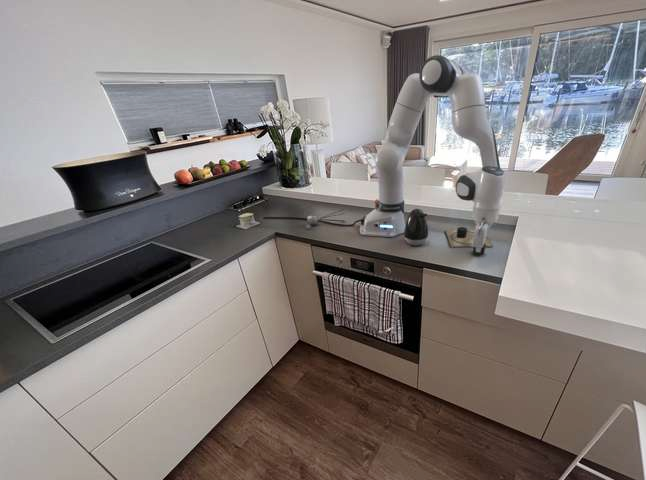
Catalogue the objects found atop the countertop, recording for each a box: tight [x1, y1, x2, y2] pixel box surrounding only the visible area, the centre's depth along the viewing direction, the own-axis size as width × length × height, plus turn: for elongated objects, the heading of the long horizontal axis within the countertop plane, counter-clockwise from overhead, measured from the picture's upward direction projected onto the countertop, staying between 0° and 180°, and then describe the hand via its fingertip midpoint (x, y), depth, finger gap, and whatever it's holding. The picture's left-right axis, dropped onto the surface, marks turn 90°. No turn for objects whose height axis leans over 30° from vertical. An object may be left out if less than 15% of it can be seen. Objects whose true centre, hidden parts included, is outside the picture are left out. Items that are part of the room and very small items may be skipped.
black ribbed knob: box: [456, 226, 468, 238], centre depth 124 cm, size 4×4×4 cm
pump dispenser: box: [403, 208, 429, 246], centre depth 120 cm, size 10×10×15 cm
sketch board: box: [445, 229, 492, 248], centre depth 123 cm, size 16×16×1 cm
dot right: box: [472, 244, 486, 256], centre depth 110 cm, size 4×4×4 cm
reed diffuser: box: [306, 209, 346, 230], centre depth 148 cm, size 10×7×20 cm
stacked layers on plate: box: [236, 212, 261, 230], centre depth 154 cm, size 10×9×6 cm
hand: (479, 248), depth 110 cm, fingers closed on dot right, 4 cm apart
